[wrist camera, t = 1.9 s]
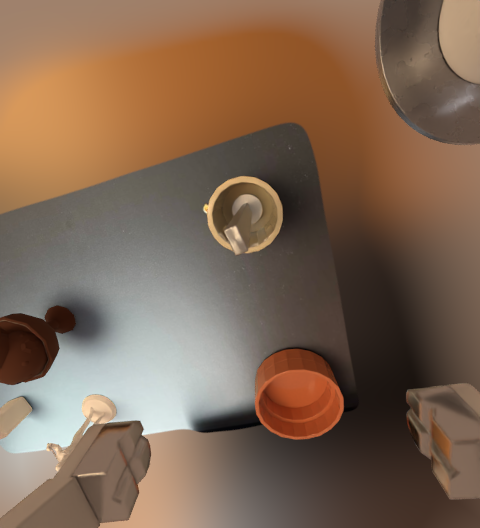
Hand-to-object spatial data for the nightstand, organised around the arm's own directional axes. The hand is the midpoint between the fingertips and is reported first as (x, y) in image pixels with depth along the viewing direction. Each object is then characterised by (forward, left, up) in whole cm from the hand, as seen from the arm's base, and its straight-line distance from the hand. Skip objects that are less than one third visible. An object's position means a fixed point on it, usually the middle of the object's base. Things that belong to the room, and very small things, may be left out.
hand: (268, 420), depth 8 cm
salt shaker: (+59, +13, -34) cm, 69 cm away
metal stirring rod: (0, -4, -33) cm, 33 cm away
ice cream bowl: (+39, 0, -34) cm, 52 cm away
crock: (0, -4, -34) cm, 34 cm away
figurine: (+44, +20, -34) cm, 59 cm away
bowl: (+5, +28, -34) cm, 44 cm away
